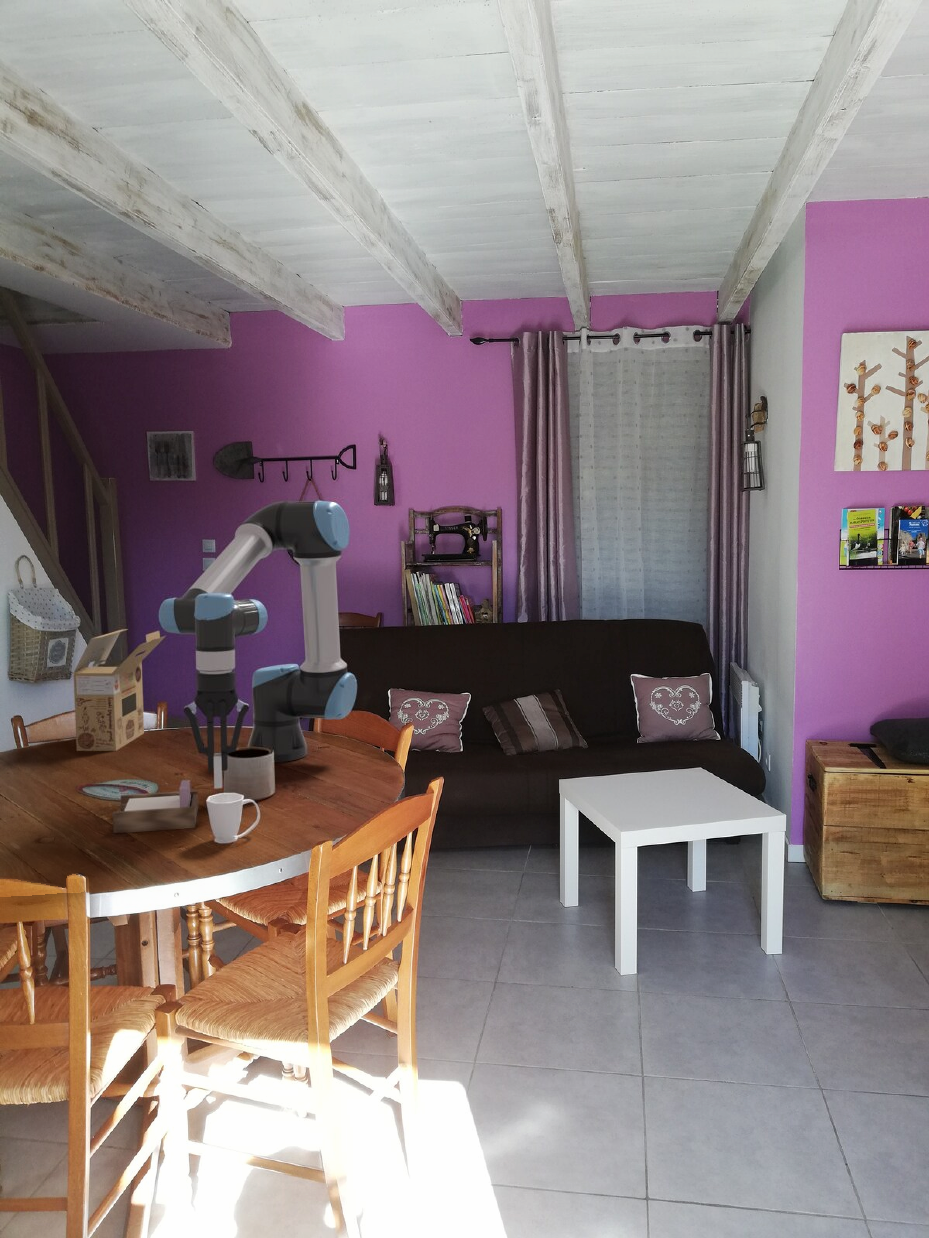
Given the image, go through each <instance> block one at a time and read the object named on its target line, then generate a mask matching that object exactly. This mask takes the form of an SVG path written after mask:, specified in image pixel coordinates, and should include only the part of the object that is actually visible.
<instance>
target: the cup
mask: <svg viewBox="0 0 929 1238" xmlns="http://www.w3.org/2000/svg"><path fill="white" fill-rule="evenodd" d="M243 798H244V795H240V794H237V793H224V792H220V793H216V794H213V795H209V796H208V797H207V798H206V801H205V802H206V807H207V812H208V818H209V819H208V820H209V823H210V824H209V825H210V827H211V831H212V833H213V836H214V837H215V838H214V843H218V844H230V843H234V842H237V840H238V839H241V838H243V837H245V836H247V835H248V834H249V833H250V832H252V830H253V829H255V828H256V826H257V825H258V824H259V822H260V820H261V819H260V818H261V812H260V811H261V810H260V808H259V804H257V803H256V801H253V800H251V799H245V800H243ZM248 803H253V804H254V806H255V807H256V808H255V809H256V811H257V817H256V820H255V821H254V822H253V824H252V825H251V826H250V827H249V828H247V829H246V830H245V831H244V832H243V833H241V834H238V833H239V830H240V826H241V821H242V813H243V805H245V804H248Z"/></svg>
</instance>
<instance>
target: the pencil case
mask: <svg viewBox="0 0 929 1238" xmlns="http://www.w3.org/2000/svg"><path fill="white" fill-rule="evenodd" d="M198 792H199V790H190V795H191V802H190V807H179V808H164V809H149V810H134V811H124V810H125V808H126V805H127V803H128V801H129V799H133V798H149V797H165V796H180V793H179V791H168V792H167V791H166V792H165V791H164V792H152V793H151V792H149V793H136V794H135V793H134V794H121V795H120V805H119V810H120V811H113V812H112V821H113V834H125V833H136V832H137V833H138V832H139V833H140V832H150V831H151V832H153V831H169V830H178V829H180V830H181V829H194V828H196V825H197V818H198V812H199V793H198Z"/></svg>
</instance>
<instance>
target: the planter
mask: <svg viewBox="0 0 929 1238" xmlns="http://www.w3.org/2000/svg"><path fill="white" fill-rule="evenodd" d="M275 775H276V774H275V762H274V751H273V750H272V749H269V748H265V747H247V746H244V747H237V749H236V751H235V752H231V753H229V754H228V768H227V771H223V793H237V794H240V795H244V798H243V800H245V799H251V800H253V801H254V802H257V801H262V800H266V799H268V798H271V796H272V795H274V794H275V793H276V783H275V780H276V779H275V777H276V776H275Z"/></svg>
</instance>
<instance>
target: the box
mask: <svg viewBox="0 0 929 1238" xmlns="http://www.w3.org/2000/svg"><path fill="white" fill-rule="evenodd" d="M127 630H129V629H128V628H127V629H125V628H123V629H119V630H115V631H113V632H110V633H109V632H108V633H106V634H102V635H99V636H95V637H92V638H90V640H89V642H88V643H87V646H86V647H85V650H84V651H83V653H82V655H81V657H80V659H79V661H78V663H77V665H76V667H75V668H74V671H73V693H74V694H73V696H74V697H73V698H74V717H75V719H74V721H75V736H76V738H75V739H76V740H75V743H76V751H78V752H79V751H80V752H83V751H84V752H91V751H92V752H97V751H98V752H112V751H113V752H116V751H118V750H120V749H121V748H123V747H125V746H126V745H128V744H129V743H131V742H132V741H134V740H136V739H137V738H139V737H141V736H143V734H144V733H145V722H144V721H145V720H144V694H143V692H144V689H143V665H142V663H143V662H142V661H143V660H144V659H145V658H146V657H147V656H148V655H149V654H150V653H151V652H152V651H153V650H154V649H155V648H156V647H157V646H158V645H159V644H160V643H161V641H163V640H164V638H165V637H166V635H164V636H161V634H160V630H156V631H153V632H150V633H147V634H146V635H145V639H146V641H145V642H144V643H141V644H139V645H138V646H137V647H136V648H135V649H134V650H133V651H132V652H131V653H130V654H129V655H128V656H127V658H125V660H118V659H117V660H108V657H109V655H110V654H111V650H112V649H113V647H114V645H115V644H116V641H118V640H117V639H118V637H119V635H120V633H121V632H125V631H127ZM140 653H141V654H140ZM93 662H94V663H93ZM91 663H92V666H90V664H91Z"/></svg>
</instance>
